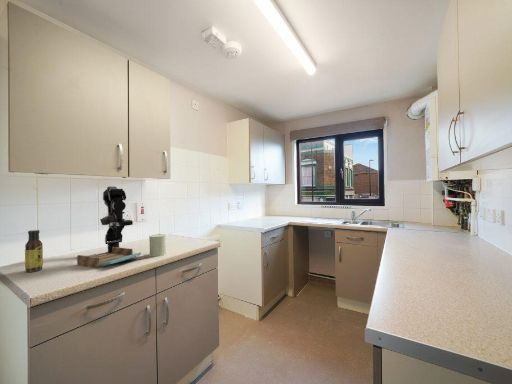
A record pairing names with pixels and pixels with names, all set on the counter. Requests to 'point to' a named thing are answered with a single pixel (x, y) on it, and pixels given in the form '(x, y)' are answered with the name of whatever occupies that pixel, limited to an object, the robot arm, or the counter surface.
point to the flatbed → (103, 257)
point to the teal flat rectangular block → (121, 259)
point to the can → (157, 245)
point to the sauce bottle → (33, 252)
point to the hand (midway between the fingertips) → (117, 237)
